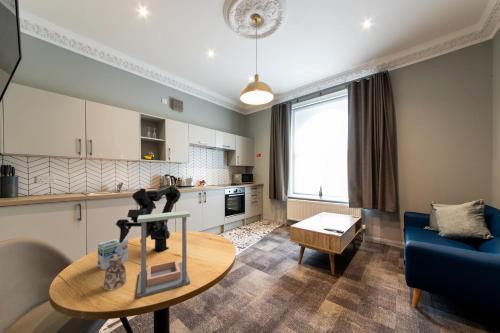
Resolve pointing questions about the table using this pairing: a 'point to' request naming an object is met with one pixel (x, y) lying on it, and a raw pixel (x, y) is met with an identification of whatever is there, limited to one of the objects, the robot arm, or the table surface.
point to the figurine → (115, 273)
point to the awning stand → (163, 273)
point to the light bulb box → (112, 251)
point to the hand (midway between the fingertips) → (130, 242)
